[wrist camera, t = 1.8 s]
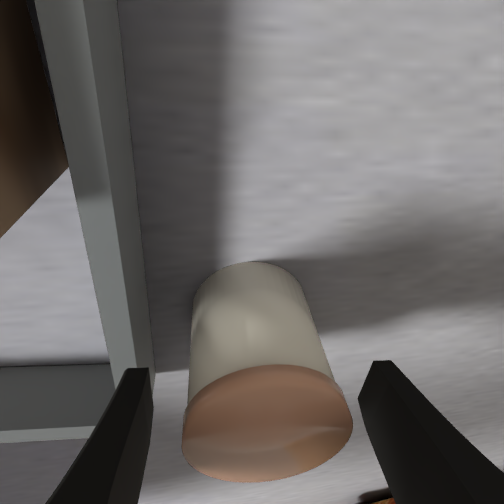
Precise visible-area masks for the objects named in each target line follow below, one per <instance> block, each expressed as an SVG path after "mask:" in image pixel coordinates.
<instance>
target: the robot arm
mask: <svg viewBox="0 0 504 504" xmlns="http://www.w3.org/2000/svg"><path fill="white" fill-rule="evenodd" d="M358 401H359V405H360V409H361V413H362V417H363V420H364V424H365V427H366V431H367V433H368V436H369V439H370V441H371V444H372V446H373V449H374V451H375V454H376V456H377V459H378V461H379V464H380V466H381V469H382V471H383V474H384V476H385V479H386V481H387V484H388V486H389V489H390V491H391V494H392V496H393V499H394V501H395V504H504V473H503V472H502V471H501V470H500V469H498V468H497V467H496V466H495V465H494V464H493V463H492V462H491V461H489V460H488V459H487V458H486V457H485V456H484V455H483V454H482V453H481V452H480V451H479V450H478V449H477V448H476V447H474V446H473V445H472V444H471V443H470V442H469V441H468V440H467V439H466V438H465V437H464V436H463V435H462V434H461V433H460V432H459V431H458V430H457V429H456V428H455V427H454V426H453V425H452V424H451V423H450V422H449V421H448V420H447V419H446V418H445V417H444V416H443V415H442V414H441V413H440V412H439V411H438V410H437V409H436V408H435V407H434V406H433V405H432V404H431V403H430V402H429V401H428V400H427V398H426V397H425V396H424V395H423V394H422V393H421V392H420V391H419V390H418V389H417V388H416V387H415V386H414V385H413V383H412V382H411V381H410V380H409V379H408V378H407V377H406V376H405V375H404V374H403V373H402V372H401V371H400V369H399V368H398V367H397V366H396V365H395V364H394V363H393V362H392V361H391V360H385V361H373V363H372V366H371V368H370V370H369V373H368V375H367V377H366V380H365V382H364V385H363V387H362V389H361V392H360V394H359V396H358ZM153 408H154V407H153V398H152V390H151V381H150V373H149V367H146V368H127V369H126V370H125V371H124V373H123V375H122V378H121V380H120V382H119V384H118V386H117V388H116V390H115V392H114V394H113V396H112V398H111V400H110V402H109V404H108V405H107V407H106V409H105V411H104V413H103V415H102V416H101V418H100V420H99V422H98V423H97V425H96V427H95V428H94V430H93V432H92V433H91V435H90V437H89V439H88V440H87V442H86V444H85V445H84V447H83V448H82V450H81V452H80V453H79V455H78V456H77V458H76V459H75V461H74V462H73V464H72V465H71V467H70V469H69V470H68V472H67V473H66V475H65V476H64V478H63V479H62V481H61V482H60V484H59V485H58V487H57V488H56V490H55V491H54V492H53V494H52V495H51V497H50V498H49V500H48V501H47V502H46V504H138V499H139V494H140V490H141V485H142V480H143V475H144V470H145V465H146V460H147V455H148V450H149V445H150V437H151V428H152V418H153Z"/></svg>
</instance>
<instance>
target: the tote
mask: <svg viewBox="0 0 504 504" xmlns="http://www.w3.org/2000/svg"><path fill="white" fill-rule="evenodd" d="M34 2H35V6H36V11H37V16H38V21H39V25H40V30H41V35H42V40H43V45H44V49H45V54H46V59H47V64H48V68H49V73H50V78H51V83H52V88H53V92H54V97H55V102H56V107H57V111H58V116H59V121H60V126H61V131H62V135H63V140H64V145H65V150H66V154H67V159H68V164H69V169H70V174H71V178H72V183H73V188H74V193H75V197H76V202H77V207H78V212H79V217H80V221H81V226H82V231H83V236H84V240H85V245H86V250H87V255H88V260H89V264H90V269H91V274H92V279H93V283H94V288H95V293H96V298H97V303H98V307H99V312H100V317H101V322H102V326H103V331H104V336H105V341H106V346H107V350H108V355H109V360H110V364H99V365H66V366H34V367H2V368H0V443H15V442H32V441H49V440H66V439H83V438H89V437H90V435H91V433H92V432H93V430H94V428H95V427H96V425H97V423H98V422H99V420H100V418H101V416H102V415H103V413H104V411H105V409H106V407H107V405H108V404H109V402H110V400H111V398H112V396H113V394H114V392H115V390H116V388H117V386H118V384H119V382H120V380H121V378H122V375H123V373H124V371H125V370H126V369H127V368H146V367H149V373H150V381H151V390H152V395H153V388H154V382H155V375H156V374H155V364H154V354H153V345H152V335H151V325H150V316H149V306H148V296H147V286H146V277H145V267H144V257H143V248H142V238H141V228H140V219H139V209H138V199H137V190H136V180H135V170H134V161H133V151H132V141H131V132H130V122H129V112H128V103H127V93H126V83H125V74H124V64H123V54H122V45H121V35H120V25H119V16H118V6H117V0H34Z"/></svg>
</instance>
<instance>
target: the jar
mask: <svg viewBox="0 0 504 504" xmlns="http://www.w3.org/2000/svg"><path fill="white" fill-rule="evenodd" d="M352 429H353V421H352V417H351V414H350V411H349V408H348V406H347V403H346V400H345V398H344V395H343V392H342V390H341V388H340V387H339V386H338V384H337V383H336V382H335V380H334V377H333V374H332V372H331V369H330V366H329V363H328V360H327V358H326V355H325V352H324V349H323V346H322V344H321V341H320V338H319V335H318V332H317V330H316V327H315V324H314V321H313V318H312V316H311V313H310V310H309V307H308V305H307V302H306V299H305V296H304V293H303V291H302V288H301V286H300V284H299V282H298V281H297V280H296V278H295V277H294V276H293V275H291V274H290V273H289V272H288V271H286V270H284V269H283V268H280V267H278V266H276V265H272V264H269V263H263V262H243V263H237V264H234V265H230V266H227V267H225V268H222V269H221V270H219V271H217V272H215V273H214V274H212V275H211V276H209V277H208V278H207V279H206V280H205V281H204V282H203V283H202V284H201V286H200V287H199V289H198V290H197V292H196V294H195V297H194V300H193V308H192V328H191V347H190V366H189V386H188V405H187V408H186V410H185V413H184V417H183V432H182V452H183V455H184V457H185V459H186V460H187V462H188V463H189V464H190V465H191V466H192V467H193V468H195V469H196V470H198V471H199V472H201V473H203V474H205V475H207V476H210V477H213V478H216V479H220V480H225V481H232V482H265V481H272V480H278V479H283V478H287V477H291V476H294V475H298V474H301V473H303V472H306V471H308V470H311V469H313V468H315V467H317V466H319V465H321V464H323V463H324V462H326V461H327V460H329V459H330V458H332V457H333V456H334V455H336V454H337V453H338V452H339V451H340V450H341V449H342V448H343V447H344V445H345V444H346V443H347V441H348V440H349V438H350V436H351V433H352Z"/></svg>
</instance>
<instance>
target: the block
mask: <svg viewBox="0 0 504 504" xmlns="http://www.w3.org/2000/svg"><path fill="white" fill-rule="evenodd" d="M68 167H69V164H68V160H67V156H66V153H65V149H64V145H63V141H62V137H61V133H60V129H59V126H58V122H57V118H56V114H55V110H54V106H53V102H52V98H51V95H50V91H49V87H48V83H47V79H46V75H45V71H44V68H43V64H42V60H41V56H40V52H39V48H38V44H37V41H36V37H35V33H34V29H33V25H32V21H31V17H30V13H29V10H28V6H27V2H26V0H0V238H1V237H2V236H3V235H4V234H5V233H6V232H7V231H8V230H9V229H10V228H11V226H12V225H13V224H14V223H15V222H16V221H17V220H18V219H19V218H20V217H21V216H22V215H23V214H24V213H25V212H26V211H27V210H28V209H29V208H30V207H31V206H32V205H33V204H34V203H35V201H36V200H37V199H38V198H39V197H40V196H41V195H42V194H43V193H44V192H45V191H46V190H47V189H48V188H49V187H50V186H51V185H52V184H53V183H54V182H55V181H56V180H57V179H58V178H59V176H60V175H61V174H62V173H63V172H64V171H65V170H66V169H67V168H68Z"/></svg>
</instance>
